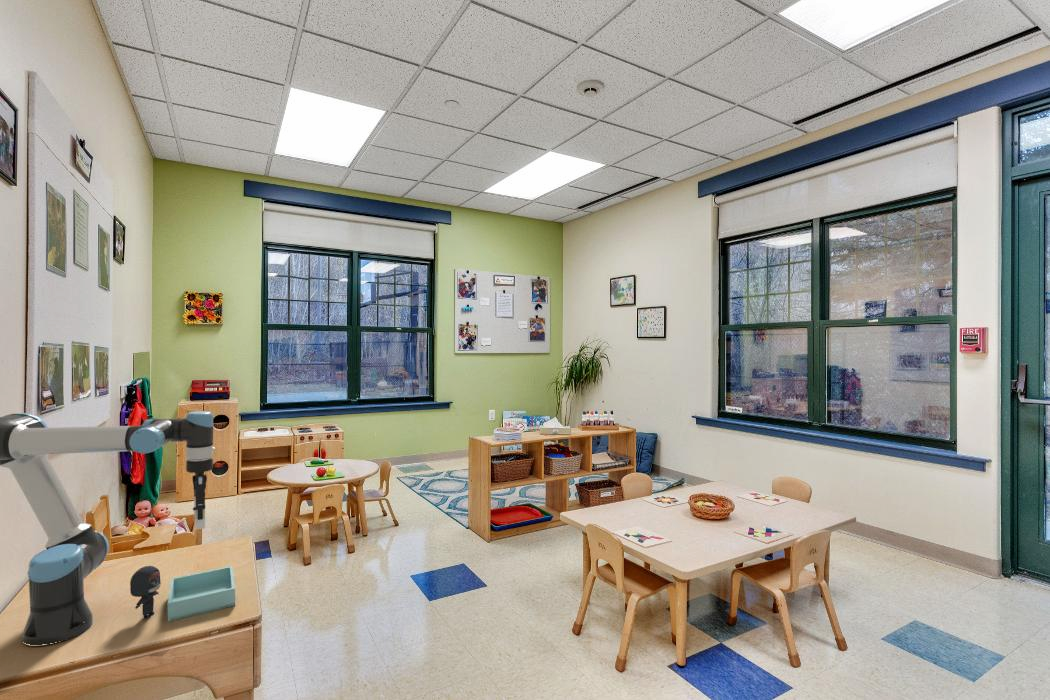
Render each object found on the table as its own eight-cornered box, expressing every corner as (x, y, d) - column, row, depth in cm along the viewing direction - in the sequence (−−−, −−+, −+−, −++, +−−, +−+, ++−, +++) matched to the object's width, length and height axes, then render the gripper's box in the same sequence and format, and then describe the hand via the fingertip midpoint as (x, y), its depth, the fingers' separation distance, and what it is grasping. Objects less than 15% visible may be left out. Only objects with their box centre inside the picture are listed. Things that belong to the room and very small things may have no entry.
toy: (148, 624, 155) (147, 574, 155) (122, 624, 155) (121, 574, 155) (170, 608, 164) (168, 560, 164) (145, 607, 164) (144, 560, 164)
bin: (168, 621, 156) (167, 603, 156) (171, 594, 172) (171, 578, 172) (235, 605, 166) (234, 588, 165) (232, 581, 182) (232, 565, 181)
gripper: (215, 465, 165) (214, 532, 165) (211, 450, 186) (210, 509, 186) (186, 468, 161) (186, 536, 161) (185, 452, 181) (185, 512, 182)
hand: (199, 522), depth 174 cm, fingers open, 13 cm apart
